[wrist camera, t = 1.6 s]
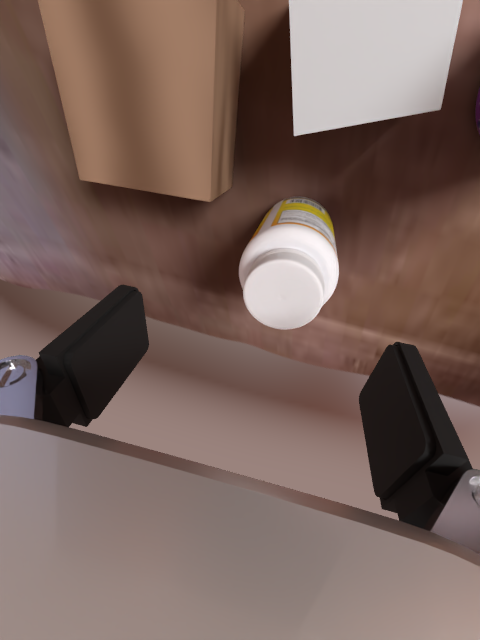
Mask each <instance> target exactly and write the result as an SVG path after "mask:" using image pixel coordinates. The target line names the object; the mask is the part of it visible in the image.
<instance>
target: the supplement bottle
mask: <svg viewBox="0 0 480 640" xmlns="http://www.w3.org/2000/svg"><path fill="white" fill-rule="evenodd" d="M338 276H339V264H338V257H337V250H336V244H335V237H334V228H333V223H332V220H331V217H330V215H329V214H328V212H327V211H326V209H325V208H324V207H323V206H322V205H321V204H319V203H318V202H316V201H315V200H312V199H310V198H306V197H291V198H287V199H284V200H282V201H280V202H278V203H277V204H275V205H274V206H273V207H272V208H271V209H270V210H269V211H268V212H267V214H266V215H265V217H264V219H263V220H262V222H261V224H260V225H259V227H258V228H257V230H256V232H255V233H254V235H253V237H252V238H251V240H250V241H249V243H248V245H247V246H246V248H245V250H244V252H243V254H242V257H241V260H240V264H239V279H240V283H241V286H242V289H243V298H244V302H245V305H246V307H247V309H248V311H249V312H250V313H251V314H252V316H253V317H254V318H255V319H257V320H258V321H259V322H261V323H262V324H264V325H266V326H269V327H272V328H276V329H294V328H299V327H301V326H303V325H305V324H307V323H309V322H310V321H311V320H313V319H314V318H315V317H316V315H317V314H318V313H319V311H320V309H321V307H322V306H323V305H324V304H325V303H326V302H327V301H328V299H329V298H330V297H331V295H332V294H333V292H334V290H335V288H336V285H337V282H338Z"/></svg>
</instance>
